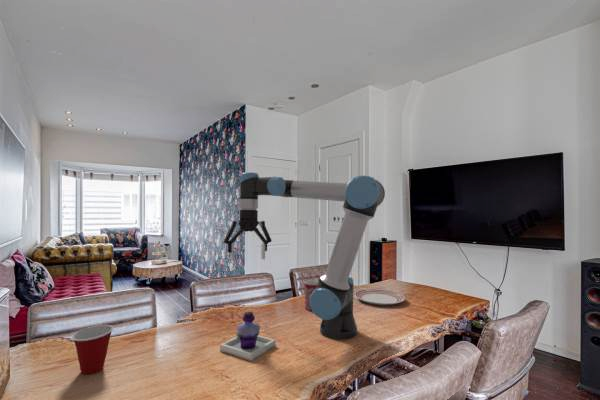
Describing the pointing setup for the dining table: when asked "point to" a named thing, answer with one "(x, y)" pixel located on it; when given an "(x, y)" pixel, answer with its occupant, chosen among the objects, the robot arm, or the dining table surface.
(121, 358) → the dining table surface
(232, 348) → the dish
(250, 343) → the potion bottle
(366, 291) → the dinner plate
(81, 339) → the plastic cup
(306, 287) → the mug
